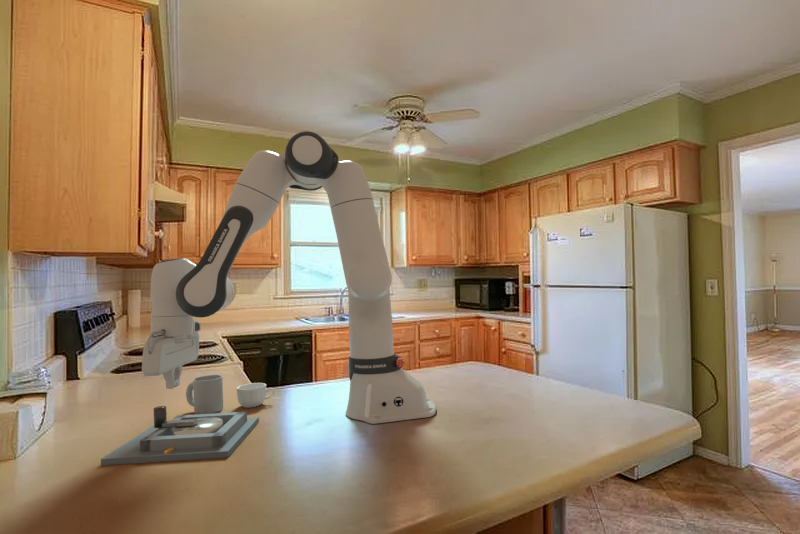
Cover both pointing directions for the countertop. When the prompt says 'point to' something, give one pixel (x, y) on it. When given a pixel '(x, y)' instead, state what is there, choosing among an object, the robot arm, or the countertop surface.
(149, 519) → the countertop surface
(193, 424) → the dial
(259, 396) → the teacup
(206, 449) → the panel
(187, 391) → the cup
